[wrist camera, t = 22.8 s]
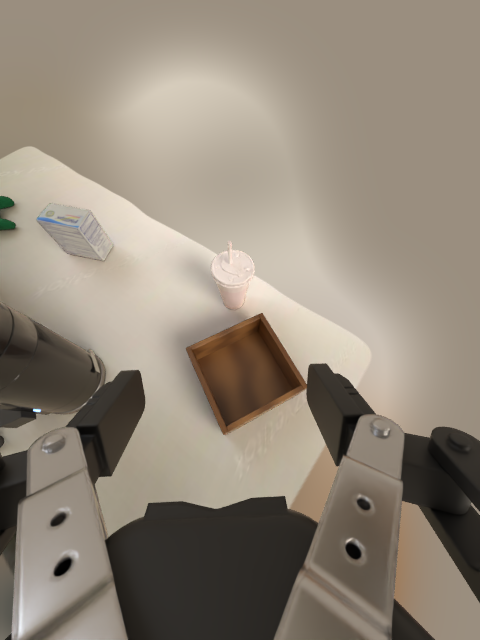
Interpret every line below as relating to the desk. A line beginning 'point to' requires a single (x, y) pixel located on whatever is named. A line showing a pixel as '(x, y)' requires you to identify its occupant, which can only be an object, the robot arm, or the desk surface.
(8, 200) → the gaming controller
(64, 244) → the medicine box
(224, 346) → the wooden box
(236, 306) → the smoothie
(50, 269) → the desk surface
